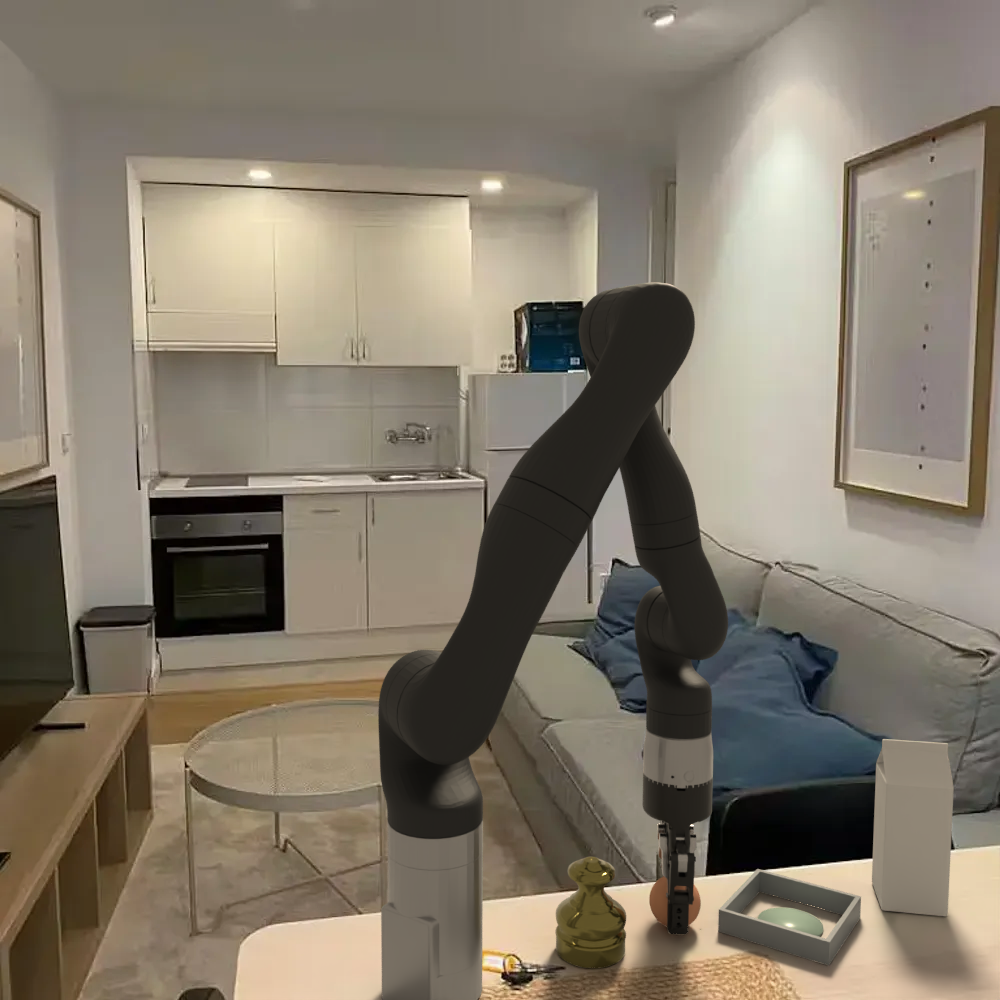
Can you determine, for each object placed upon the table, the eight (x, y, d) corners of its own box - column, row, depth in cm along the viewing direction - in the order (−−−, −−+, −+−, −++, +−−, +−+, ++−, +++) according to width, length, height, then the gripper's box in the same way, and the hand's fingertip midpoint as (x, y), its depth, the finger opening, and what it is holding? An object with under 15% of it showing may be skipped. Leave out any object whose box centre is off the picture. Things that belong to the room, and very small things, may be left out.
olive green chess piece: (640, 951, 106) (641, 859, 106) (595, 979, 101) (597, 883, 100) (585, 926, 112) (586, 838, 111) (540, 951, 106) (541, 860, 105)
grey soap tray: (828, 965, 104) (829, 942, 103) (718, 931, 110) (718, 909, 110) (860, 917, 114) (861, 896, 113) (756, 889, 120) (757, 868, 120)
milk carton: (947, 918, 114) (955, 753, 112) (881, 911, 115) (887, 749, 113) (934, 889, 121) (941, 733, 119) (871, 883, 122) (877, 729, 120)
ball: (687, 943, 108) (688, 893, 107) (640, 928, 111) (641, 879, 111) (708, 922, 112) (709, 873, 112) (662, 908, 116) (663, 861, 115)
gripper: (639, 747, 118) (636, 887, 119) (647, 793, 103) (645, 951, 105) (704, 749, 117) (701, 889, 118) (722, 796, 103) (718, 955, 104)
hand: (674, 918), depth 112 cm, fingers closed on ball, 5 cm apart
